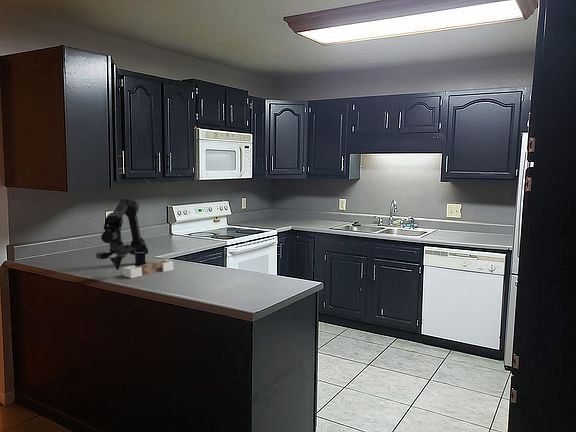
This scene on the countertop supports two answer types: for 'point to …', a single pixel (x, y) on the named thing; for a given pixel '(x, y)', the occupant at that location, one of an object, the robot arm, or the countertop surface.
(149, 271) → the brown bar
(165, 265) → the cap
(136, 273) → the cap
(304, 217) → the countertop surface
